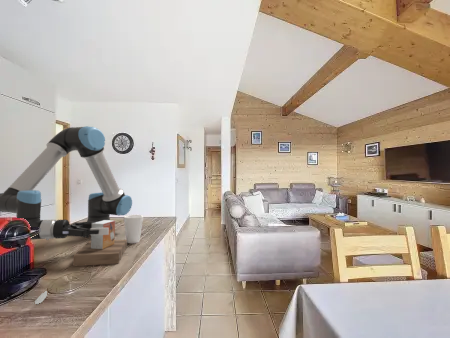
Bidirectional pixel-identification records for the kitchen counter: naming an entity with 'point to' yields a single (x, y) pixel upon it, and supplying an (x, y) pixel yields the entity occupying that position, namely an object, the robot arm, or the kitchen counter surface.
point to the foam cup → (133, 227)
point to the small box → (103, 240)
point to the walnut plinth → (100, 254)
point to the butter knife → (41, 298)
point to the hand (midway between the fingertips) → (112, 227)
